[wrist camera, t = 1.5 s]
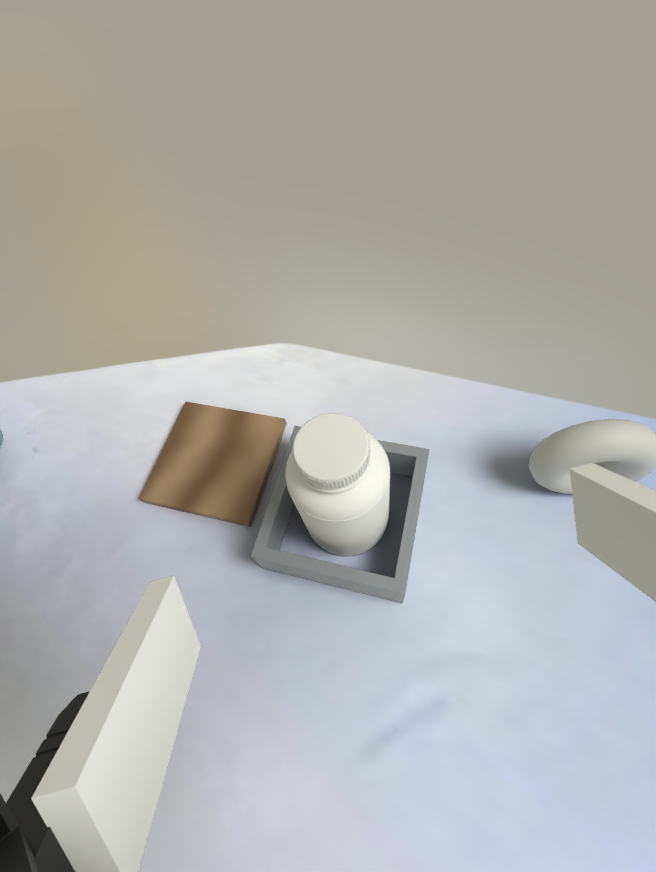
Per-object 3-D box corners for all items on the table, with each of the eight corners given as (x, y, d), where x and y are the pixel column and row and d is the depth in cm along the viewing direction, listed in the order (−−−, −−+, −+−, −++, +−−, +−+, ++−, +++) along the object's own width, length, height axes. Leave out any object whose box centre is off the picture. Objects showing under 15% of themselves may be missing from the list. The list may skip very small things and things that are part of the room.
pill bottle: (289, 519, 43) (250, 447, 30) (346, 464, 45) (333, 376, 32) (347, 577, 40) (331, 525, 27) (406, 515, 42) (417, 440, 29)
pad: (143, 502, 46) (138, 498, 45) (189, 406, 51) (185, 401, 50) (250, 526, 43) (248, 523, 42) (286, 423, 49) (284, 418, 48)
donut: (620, 464, 42) (681, 408, 34) (631, 498, 41) (699, 448, 32) (512, 467, 43) (545, 413, 35) (519, 500, 42) (555, 452, 33)
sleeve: (263, 568, 41) (250, 556, 37) (301, 447, 47) (294, 425, 43) (402, 603, 38) (404, 594, 34) (425, 469, 44) (429, 449, 40)
